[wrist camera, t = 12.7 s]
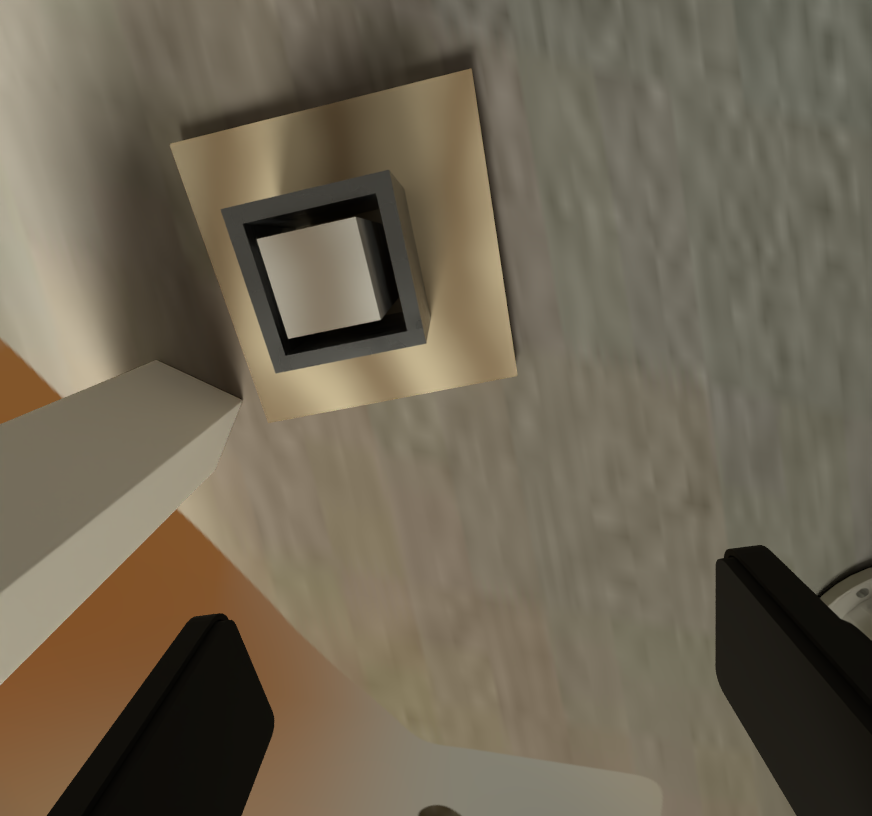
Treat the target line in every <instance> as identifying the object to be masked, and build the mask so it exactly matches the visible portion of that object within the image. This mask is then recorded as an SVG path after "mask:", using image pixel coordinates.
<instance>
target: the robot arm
mask: <svg viewBox="0 0 872 816" xmlns="http://www.w3.org/2000/svg"><path fill="white" fill-rule="evenodd" d="M716 674H717V678H718V681H719V684H720V687H721V689H722V691H723V693H724V695H725V696H726V698H727V700H728V701H729V703H730V705H731V706H732V708H733V710H734V711H735V713H736V715H737V716H738V718H739V720H740V721H741V723H742V725H743V726H744V728H745V730H746V731H747V733H748V735H749V737H750V738H751V740H752V742H753V743H754V745H755V747H756V748H757V750H758V752H759V753H760V755H761V757H762V758H763V760H764V762H765V763H766V765H767V767H768V768H769V770H770V772H771V773H772V775H773V777H774V778H775V780H776V782H777V783H778V785H779V787H780V789H781V790H782V792H783V794H784V795H785V797H786V799H787V800H788V802H789V804H790V805H791V807H792V809H793V810H794V812H795V814H796V815H797V816H872V567H871V568H868V569H865V570H863V571H860V572H858V573H856V574H853V575H851V576H849V577H848V578H846V579H844V580H843V581H841V582H839V583H838V584H836V585H835V586H833V587H832V588H831V589H830V590H828V591H827V592H826V593H825V594H823V595H822V596H821V597H820V598H819V597H818V596H817V595H816V594H815V593H814V592H813V591H812V590H811V589H809V588H808V587H807V586H806V585H805V584H804V583H803V582H802V581H801V580H800V579H799V578H798V577H797V576H796V575H795V574H794V573H793V572H792V571H791V570H790V569H789V568H788V567H787V566H786V565H785V564H784V563H783V562H782V561H781V560H780V559H779V558H777V557H776V556H775V555H774V554H773V553H772V552H771V551H770V550H769V549H768V548H766V547H765V546H762V545H757V546H749V547H741V548H733V549H728V550H726V552H725V554H724V558H722V559H718V560H717V562H716ZM273 729H274V715H273V712H272V710H271V707H270V704H269V702H268V700H267V697H266V695H265V693H264V690H263V688H262V685H261V683H260V681H259V678H258V676H257V674H256V671H255V669H254V667H253V664H252V662H251V659H250V657H249V655H248V652H247V650H246V647H245V645H244V643H243V640H242V638H241V636H240V633H239V631H238V629H237V626H236V624H235V622H234V621H232V620H228V618H227V616H226V615H224V614H220V613H219V614H211V615H203V616H196V617H193V618H191V619H190V620H189V621H188V622H187V623H186V625H185V626H184V627H183V629H182V630H181V632H180V633H179V634H178V636H177V637H176V639H175V640H174V641H173V643H172V644H171V645H170V647H169V648H168V650H167V651H166V652H165V654H164V655H163V656H162V658H161V659H160V661H159V662H158V663H157V665H156V666H155V667H154V669H153V670H152V672H151V673H150V674H149V676H148V677H147V678H146V680H145V681H144V683H143V684H142V685H141V687H140V688H139V689H138V691H137V692H136V693H135V695H134V696H133V698H132V699H131V700H130V702H129V703H128V704H127V706H126V707H125V709H124V710H123V711H122V713H121V714H120V716H119V717H118V718H117V720H116V721H115V723H114V724H113V725H112V727H111V728H110V729H109V731H108V732H107V733H106V735H105V736H104V738H103V739H102V740H101V742H100V743H99V744H98V746H97V747H96V749H95V750H94V751H93V753H92V754H91V756H90V757H89V758H88V760H87V761H86V762H85V764H84V765H83V767H82V768H81V769H80V771H79V772H78V773H77V775H76V776H75V777H74V779H73V780H72V782H71V783H70V784H69V786H68V787H67V789H66V790H65V791H64V793H63V794H62V795H61V797H60V798H59V800H58V801H57V802H56V804H55V805H54V807H53V808H52V809H51V811H50V812H49V813H48V815H47V816H241V815H242V813H243V810H244V807H245V805H246V802H247V800H248V797H249V794H250V792H251V789H252V787H253V784H254V781H255V778H256V776H257V773H258V771H259V768H260V765H261V763H262V760H263V758H264V755H265V753H266V750H267V747H268V745H269V742H270V740H271V737H272V733H273Z"/></svg>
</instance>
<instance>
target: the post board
mask: <svg viewBox="0 0 872 816" xmlns="http://www.w3.org/2000/svg"><path fill="white" fill-rule="evenodd" d="M169 145H170V148H171V150H172V153H173V156H174V159H175V162H176V165H177V167H178V170H179V173H180V176H181V179H182V181H183V184H184V187H185V190H186V193H187V196H188V198H189V201H190V204H191V207H192V210H193V212H194V215H195V218H196V221H197V224H198V226H199V229H200V232H201V235H202V238H203V241H204V243H205V246H206V249H207V252H208V255H209V257H210V260H211V263H212V266H213V269H214V271H215V274H216V277H217V280H218V283H219V286H220V288H221V291H222V294H223V297H224V300H225V302H226V305H227V308H228V311H229V314H230V317H231V319H232V322H233V325H234V328H235V331H236V333H237V336H238V339H239V342H240V345H241V347H242V350H243V353H244V356H245V359H246V362H247V364H248V367H249V370H250V373H251V376H252V378H253V381H254V384H255V387H256V390H257V392H258V395H259V398H260V401H261V404H262V407H263V409H264V412H265V415H266V418H267V421H268V423H271V422H276V421H282V420H287V419H292V418H297V417H303V416H308V415H313V414H319V413H324V412H329V411H335V410H340V409H345V408H350V407H356V406H361V405H366V404H372V403H377V402H382V401H387V400H393V399H398V398H403V397H409V396H414V395H419V394H424V393H430V392H435V391H440V390H446V389H451V388H456V387H461V386H467V385H472V384H477V383H483V382H488V381H493V380H498V379H504V378H509V377H514V376H518V375H517V369H516V362H515V355H514V349H513V342H512V335H511V328H510V322H509V315H508V308H507V302H506V295H505V288H504V282H503V275H502V268H501V262H500V255H499V248H498V242H497V235H496V228H495V222H494V215H493V208H492V202H491V195H490V188H489V182H488V175H487V168H486V161H485V155H484V148H483V141H482V135H481V128H480V121H479V115H478V108H477V101H476V95H475V88H474V81H473V75H472V68H471V69H467V70H463V71H459V72H455V73H451V74H447V75H443V76H439V77H435V78H431V79H427V80H423V81H419V82H415V83H411V84H407V85H403V86H399V87H395V88H391V89H387V90H383V91H379V92H375V93H371V94H367V95H363V96H359V97H355V98H351V99H347V100H343V101H339V102H335V103H331V104H327V105H323V106H319V107H315V108H311V109H307V110H303V111H299V112H295V113H291V114H287V115H283V116H279V117H275V118H271V119H267V120H263V121H259V122H255V123H251V124H247V125H243V126H239V127H235V128H231V129H227V130H223V131H219V132H215V133H211V134H207V135H203V136H199V137H195V138H191V139H187V140H183V141H179V142H175V143H171V144H169ZM385 170H390V172H391V173H392V174H393V175H394V177H395V178H396V179H397V180H398V182H399V183H400V184H401V185H402V186H403V188H404V190H405V195H406V200H407V204H408V209H409V214H410V219H411V224H412V229H413V233H414V238H415V243H416V248H417V253H418V258H419V262H420V267H421V272H422V277H423V282H424V286H425V291H426V296H427V301H428V306H429V311H430V315H431V321H430V327H429V332H428V337H427V343H426V344H422V345H417V346H412V347H407V348H402V349H397V350H392V351H387V352H382V353H377V354H372V355H367V356H362V357H357V358H352V359H347V360H342V361H336V362H331V363H326V364H321V365H316V366H311V367H306V368H301V369H296V370H291V371H286V372H281V373H275V370H274V367H273V364H272V361H271V359H270V356H269V353H268V350H267V347H266V344H265V341H264V338H263V335H262V332H261V329H260V326H259V323H258V320H257V317H256V314H255V311H254V308H253V305H252V302H251V299H250V296H249V293H248V290H247V287H246V284H245V281H244V278H243V275H242V272H241V269H240V266H239V263H238V260H237V257H236V254H235V251H234V248H233V246H232V243H231V240H230V237H229V234H228V231H227V228H226V225H225V222H224V219H223V216H222V213H221V210H220V209H223V208H227V207H232V206H236V205H240V204H245V203H249V202H253V201H257V200H262V199H266V198H270V197H274V196H279V195H283V194H287V193H291V192H296V191H300V190H304V189H308V188H313V187H317V186H321V185H326V184H330V183H334V182H338V181H343V180H347V179H351V178H355V177H360V176H364V175H368V174H372V173H377V172H381V171H385ZM257 242H258V245H259V248H260V251H261V255H262V258H263V261H264V264H265V267H266V270H267V273H268V277H269V280H270V283H271V286H272V289H273V292H274V296H275V299H276V302H277V305H278V308H279V311H280V314H281V318H282V321H283V324H284V327H285V330H286V333H287V336H288V339H290V338H295V337H300V336H304V335H309V334H314V333H319V332H324V331H329V330H334V329H338V328H343V327H348V326H353V325H358V324H363V323H368V322H373V321H377V320H381V319H382V318H383V316H384V315H388V314H393V313H398V312H403V310H402V306H401V301H400V297H399V292H398V288H397V283H396V279H395V275H394V270H393V266H392V261H391V257H390V253H389V248H388V244H387V239H386V235H385V231H384V226H383V222H382V217H381V213H380V209H377V210H373V211H368V212H364V213H359V214H355V215H351V216H346V217H342V218H337V219H333V220H329V221H324V222H320V223H315V224H311V225H307V226H302V227H298V228H296V230H295V231H291V232H286V233H282V234H277V235H273V236H269V237H264V238H260V239H257Z"/></svg>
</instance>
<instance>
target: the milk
mask: <svg viewBox="0 0 872 816" xmlns="http://www.w3.org/2000/svg"><path fill="white" fill-rule="evenodd" d="M241 403H242V400H241V399H239V398H237V397H235V396H233V395H231V394H229V393H226V392H224V391H222V390H220V389H218V388H216V387H214V386H211V385H209V384H207V383H205V382H203V381H201V380H198V379H196V378H194V377H192V376H190V375H188V374H186V373H183V372H181V371H179V370H177V369H175V368H173V367H171V366H168V365H166V364H164V363H162V362H160V361H158V360H155V361H152V362H150V363H147V364H145V365H142V366H140V367H138V368H135V369H133V370H130V371H128V372H126V373H123V374H121V375H118V376H116V377H114V378H111V379H109V380H106V381H104V382H101V383H99V384H97V385H94V386H92V387H89V388H87V389H85V390H82V391H80V392H77V393H75V394H72V395H70V396H68V397H65V398H63V399H60V400H58V401H56V402H53V403H51V404H48V405H46V406H44V407H41V408H39V409H36V410H34V411H31V412H29V413H27V414H24V415H22V416H19V417H17V418H15V419H12V420H10V421H7V422H5V423H3V424H0V685H1V684H2V683H3V682H4V681H5V680H6V679H7V678H8V677H9V676H10V675H11V673H13V672H14V671H15V670H16V669H17V668H18V667H19V665H21V663H23V662H24V661H25V660H26V659H27V658H28V657H29V656H30V655H31V654H32V653H33V652H34V651H35V650H36V649H37V648H38V646H40V645H41V644H42V643H43V642H44V641H45V640H46V639H47V638H48V637H49V636H50V635H51V634H52V633H53V632H54V631H55V630H56V629H57V628H58V627H59V626H60V625H61V624H62V623H63V622H64V621H65V620H66V619H67V618H68V617H69V616H70V615H71V614H72V613H73V612H74V611H75V610H76V609H77V608H78V607H79V606H80V605H81V604H82V603H83V602H84V600H86V599H87V598H88V597H89V596H90V595H91V594H92V593H93V592H94V591H95V590H96V589H97V588H98V587H99V586H100V585H101V584H102V583H103V582H104V581H105V580H106V579H107V578H108V577H109V576H110V575H111V574H112V573H113V572H114V571H115V570H116V569H117V568H118V567H119V566H120V565H121V564H122V563H123V562H124V561H125V560H126V559H127V558H128V557H129V556H130V555H131V554H132V553H133V552H134V551H135V550H136V549H137V548H138V547H139V546H140V545H141V544H142V543H143V542H144V541H145V540H146V539H147V538H148V537H149V536H150V535H151V534H152V533H153V532H154V531H155V530H156V529H157V528H158V526H160V525H161V524H162V523H163V522H164V521H165V520H166V519H167V518H168V517H169V516H170V515H171V514H172V513H173V512H174V511H175V510H176V509H177V508H178V507H179V506H180V505H181V504H182V503H183V502H184V501H185V500H186V499H187V498H188V497H189V496H190V495H191V494H192V493H193V492H194V491H195V490H196V489H197V488H198V487H199V486H200V485H201V484H202V483H203V482H204V481H205V480H206V479H207V478H208V477H209V476H210V475H211V474H212V473H213V472H214V471H215V469H216V467H217V464H218V462H219V459H220V457H221V454H222V452H223V449H224V447H225V444H226V441H227V439H228V436H229V434H230V431H231V429H232V426H233V424H234V421H235V419H236V416H237V413H238V411H239V408H240V406H241Z"/></svg>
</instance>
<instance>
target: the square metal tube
mask: <svg viewBox="0 0 872 816" xmlns="http://www.w3.org/2000/svg"><path fill="white" fill-rule="evenodd" d="M377 209H380V213H381V217H382V222H383V226H384V231H385V235H386V239H387V244H388V248H389V253H390V257H391V261H392V266H393V270H394V275H395V279H396V283H397V288H398V292H399V297H400V301H401V306H402V310H403V312H398V313H393V314H388V315H384V316H383V318H382V319H381V320H377V321H373V322H368V323H363V324H358V325H353V326H348V327H343V328H338V329H334V330H329V331H324V332H319V333H314V334H309V335H304V336H300V337H295V338H290V339H288V336H287V333H286V330H285V327H284V324H283V321H282V318H281V314H280V311H279V308H278V305H277V302H276V299H275V296H274V292H273V289H272V286H271V283H270V280H269V277H268V273H267V270H266V267H265V264H264V261H263V258H262V255H261V251H260V248H259V245H258V242H257V239H260V238H264V237H269V236H273V235H277V234H282V233H286V232H291V231H295V230H296V228H298V227H302V226H307V225H311V224H315V223H320V222H324V221H329V220H333V219H337V218H342V217H346V216H351V215H355V214H359V213H364V212H368V211H373V210H377ZM220 210H221V213H222V216H223V219H224V222H225V225H226V228H227V231H228V234H229V237H230V240H231V243H232V246H233V248H234V251H235V254H236V257H237V260H238V263H239V266H240V269H241V272H242V275H243V278H244V281H245V284H246V287H247V290H248V293H249V296H250V299H251V302H252V305H253V308H254V311H255V314H256V317H257V320H258V323H259V326H260V329H261V332H262V335H263V338H264V341H265V344H266V347H267V350H268V353H269V356H270V359H271V361H272V364H273V367H274V370H275V373H281V372H286V371H291V370H296V369H301V368H306V367H311V366H316V365H321V364H326V363H331V362H336V361H342V360H347V359H352V358H357V357H362V356H367V355H372V354H377V353H382V352H387V351H392V350H397V349H402V348H407V347H412V346H417V345H422V344H426V343H427V337H428V332H429V327H430V321H431V315H430V311H429V306H428V301H427V296H426V291H425V286H424V282H423V277H422V272H421V267H420V262H419V258H418V253H417V248H416V243H415V238H414V233H413V229H412V224H411V219H410V214H409V209H408V204H407V200H406V195H405V190H404V188H403V186H402V185H401V184H400V183H399V182H398V180H397V179H396V178H395V177H394V175H393V174H392V173H391V172H390V170H385V171H381V172H377V173H372V174H368V175H364V176H360V177H355V178H351V179H347V180H343V181H338V182H334V183H330V184H326V185H321V186H317V187H313V188H308V189H304V190H300V191H296V192H291V193H287V194H283V195H279V196H274V197H270V198H266V199H262V200H257V201H253V202H249V203H245V204H240V205H236V206H232V207H227V208H223V209H220Z"/></svg>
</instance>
